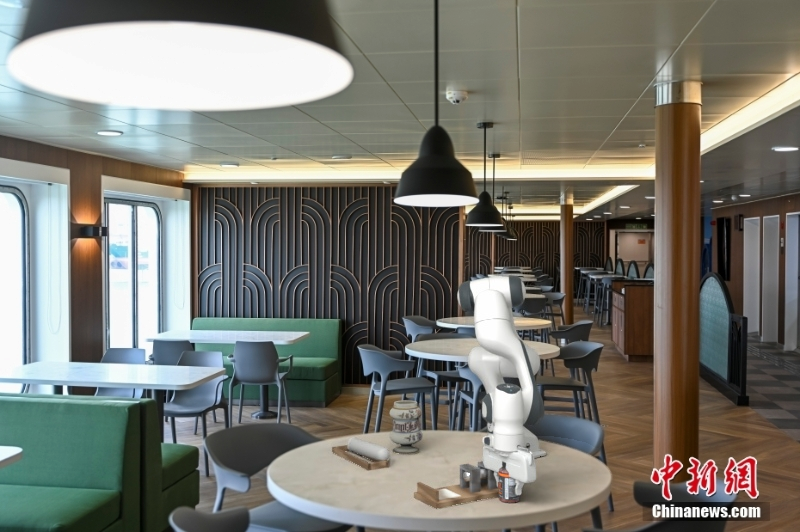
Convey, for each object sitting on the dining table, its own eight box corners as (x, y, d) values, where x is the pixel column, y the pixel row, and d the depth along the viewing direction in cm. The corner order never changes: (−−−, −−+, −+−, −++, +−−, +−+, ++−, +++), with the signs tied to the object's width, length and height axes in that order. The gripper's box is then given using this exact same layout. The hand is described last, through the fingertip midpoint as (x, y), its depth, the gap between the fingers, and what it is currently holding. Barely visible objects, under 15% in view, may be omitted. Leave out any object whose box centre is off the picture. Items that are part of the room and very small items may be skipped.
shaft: (499, 477, 223) (499, 457, 223) (512, 482, 218) (511, 462, 218) (459, 484, 216) (459, 463, 216) (471, 489, 211) (471, 468, 211)
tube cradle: (352, 449, 270) (352, 444, 270) (388, 467, 245) (388, 461, 245) (332, 452, 266) (332, 447, 266) (367, 470, 241) (367, 464, 241)
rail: (497, 482, 227) (497, 455, 227) (522, 492, 216) (522, 464, 216) (413, 497, 212) (413, 469, 212) (436, 509, 201) (436, 479, 201)
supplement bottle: (496, 497, 212) (496, 458, 212) (516, 497, 212) (516, 457, 212) (501, 504, 206) (500, 463, 206) (522, 503, 206) (521, 463, 206)
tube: (390, 465, 246) (357, 453, 268) (394, 449, 247) (361, 438, 269) (377, 461, 244) (345, 450, 266) (381, 445, 245) (349, 435, 267)
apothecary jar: (402, 446, 276) (402, 397, 276) (429, 450, 269) (428, 401, 269) (382, 452, 266) (382, 402, 266) (410, 457, 259) (409, 405, 259)
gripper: (541, 448, 202) (541, 498, 201) (496, 434, 219) (496, 480, 219) (523, 451, 198) (523, 502, 198) (478, 436, 216) (479, 483, 216)
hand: (508, 490), depth 209 cm, fingers open, 6 cm apart
